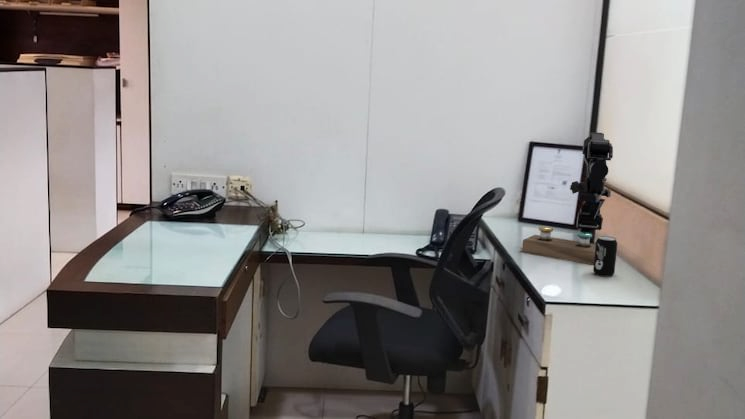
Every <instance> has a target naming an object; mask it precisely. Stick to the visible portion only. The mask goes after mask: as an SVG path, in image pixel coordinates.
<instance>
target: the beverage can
mask: <svg viewBox="0 0 745 419" xmlns="http://www.w3.org/2000/svg"><path fill="white" fill-rule="evenodd" d="M595 242H596V247H595V257H594V265H593V268H592V269H593V272H594V274H595V275H598V276H601V277H612V276H613V275H614V274H615V270H616V261H617V250H618V242H617V238H616V237H614V236H609V235H598V236H597V239H596V240H595Z"/></svg>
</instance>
